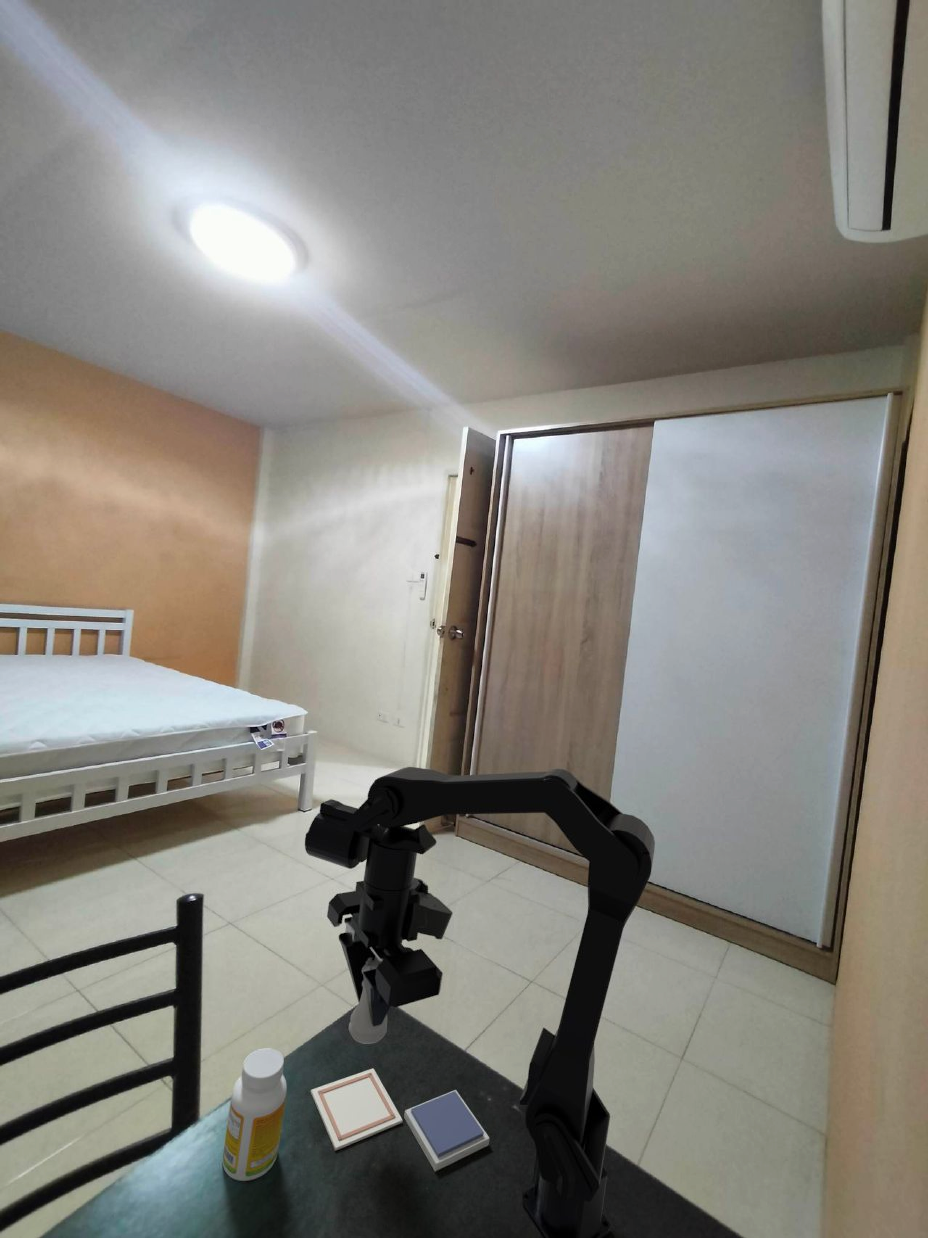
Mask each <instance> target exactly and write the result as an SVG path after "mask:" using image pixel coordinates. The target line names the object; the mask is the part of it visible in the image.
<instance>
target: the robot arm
mask: <svg viewBox="0 0 928 1238" xmlns="http://www.w3.org/2000/svg"><path fill="white" fill-rule="evenodd" d="M319 807H320V808H319V812H318V813H317V814H316V816H314V818H313V820H312V821H311V823H310V827H309V828H308V831H307V832H306V834H305V837H304V849H305V853H306V854H308V856H311V857H314V858H317V859H320V860H323V861H325V862H328V863H332V864H334V865H337V866H340V867H343V868H346V869H349V870H350V869H351V870H352V869H354V868H356V867H357V866H358V865H359V864H360V863H363V862H365V868H364V875H363V880H360V881H356V883H355V889H354V890H353V891H347V892H346V891H345V892H340V893H336V894H335V895H334V896H333V897H332V899H330V900H329V901H328V907H327V913H326V914H327V916H326V917H327V919H328V920H329V922H330V923H331V925H332V926H333V927H334V928H336V927H337V928H338V927H340V926H341V925H342V924H343V922H344V924H345V931H344V932H342V933H341V932H340V934H338V941H339V942H340V944H341V945H340V946H341V949H342V952H343V954H344V957H345V960H346V965H347V967H348V971H349V974H350V978H351V981H352V984H353V988H354V992H355V995H356V998H357V1001H358V1003H359V1002H360V998H361V995H362V991H363V986H362V981H363V980H364V983H365V989H366V995H367V1001H368V1006H369V1012H370V1017H371V1022H372V1025H373V1026H377V1025H380V1024H382V1022H383V1020H384V1018H385V1017H386V1015H387V1016H388V1012H389V1010H390V1008H391V1007H393V1008H399V1007H402V1006H404V1005H405V1006H406V1005H409V1004H412V1003H415V1002H419V1001H422V1000H426V999H429V998H433V997H435V996H436V997H437V996H439V995H440V992H441V988H442V983H443V981H442V980H443V971H442V970H441V969H440V968H439V967H438V966H437V964H435V963H434V961H433V960H432V959H431V957H429V956H428V954H427V953H426V952H425V951H424V950H423V949H422V948H419V949H415V950H414V949H413V948H411V947H408V946H407V947H406V946H404V945H403V941H405V940H406V941H407V942H413V941H417V940H418V935H419V934H420V935H426V936H431V937H434V938H435V939H437V940H442V939H443V938H444V935H445V932H446V930H447V928H448V926H449V923H450V921H451V918H452V916H453V911H452V910H451V909H450V908H448V906H447V905H446V904H444V903H443V901H441V900H440V899H439V898H437V896H434V895H433V894H432V893H431V892H429V885H428V884H427V883H426V882H424V880H423V879H420V878H417V877H415V870H416V861H417V857H418V854H419V855H424V854H426V853H427V852H428V851H430V850H431V849H432V848H434V847H435V846H436V845H437V840H436V838H435V837H434V835H433V834H432V833H431V832H429V830H428V828H427V827H426V824H424V823H423V824H421V825H419V826H417V827H416V828H412V827H408V826H410V825H414V824H419V823H422V822H425V821H429V820H431V819H434V818H438V817H443V816H450V815H453V816H455V815H490V814H491V815H492V814H493V815H498V814H500V815H501V814H502V815H503V814H504V815H505V814H543V813H544V814H546V816H548V817H549V818H550V819H551V820H552V821H553V822H554V823H555V824H556V825H557V827H558V828H559V829H560V831H561V832H562V833H563V834H564V836H565V838H567V840H568V841H569V843H570V844H571V845H572V846H573V848H574V849H575V850H576V851H577V852H578V853H579V854H580V855H581V856H582V857H583V858H584V859H585V860H587V861H588V874H587V913H586V919H585V922H584V927H583V930H582V934H581V938H580V942H579V946H578V950H577V954H576V957H575V961H574V965H573V969H572V973H571V977H570V980H569V981H570V982H569V985H568V989H567V993H566V997H565V1001H564V1005H563V1008H562V1013H561V1017H560V1020H559V1024H558V1028H557V1030H556V1031H555V1033H554V1034H553V1033H552V1032H551V1031H550V1030H548V1029H547V1028H545V1027H542V1030H541V1032H540V1035H539V1038H538V1040H537V1043H536V1046H535V1049H534V1051H533V1052H532V1053H533V1054H532V1056H531V1058H530V1062H529V1064H528V1065H529V1066H528V1074H527V1080H526V1083H525V1085H524V1088H523V1091H522V1093H521V1096H520V1099H519V1101H518V1102H519V1105H520V1106H525V1108H524V1111H523V1112H524V1114H523V1123H524V1127H525V1129H526V1130H527V1131H528V1133H529V1136H530V1137H531V1138H532V1140H533V1141H534V1145H535V1150H536V1152H535V1157H534V1166H533V1171H532V1177H531V1178H532V1180H531V1183H532V1184H533V1186H532V1187H530V1188H528V1189H527V1190H525V1191H524V1192H522V1193H521V1198H520V1202H521V1203H522V1205H523V1206H524V1208H525V1209H526V1212H528V1213H529V1216H530V1217H531V1218H532V1219H533V1221H534V1223H535V1224H536V1226H537V1227H538V1229H539V1230H540V1231H541V1233H542V1235H543V1236H544V1237H545V1238H603V1237H605V1236H606V1235H608V1234H609V1233H610V1232H609V1231H611V1223H610V1222H609V1220H608V1219H607V1218H606V1216H605V1215H604V1214H603V1208H604V1201H605V1194H606V1186H607V1182H608V1181H607V1180H608V1172H607V1171H606V1169H605V1168H604V1167H603V1165H604V1161H605V1160H604V1159H605V1152H606V1147H607V1140H608V1133H609V1127H610V1122H611V1114H610V1112H609V1111H608V1109H607V1108H606V1106H605V1104H604V1103H603V1101H602V1099H601V1098H600V1096H599V1095H598V1093H597V1091H596V1090H595V1088H594V1074H595V1064H596V1063H595V1041H596V1037H597V1034H598V1029H599V1025H600V1021H601V1017H602V1014H603V1010H604V1009H603V1008H604V1007H605V1002H606V997H607V993H608V990H609V985H610V983H611V979H612V974H613V971H614V966H615V963H616V960H617V959H616V958H617V955H618V951H619V947H620V943H621V939H622V936H623V931H624V928H625V926H626V924H627V922H628V920H629V919H630V916H631V915H632V913H633V912H634V909H635V908H636V907H637V904H638V903H639V901H640V899H641V896H642V894H643V893H644V890H645V888H646V886H647V884H648V882H649V879H650V878H651V875H652V868H653V863H654V861H653V860H654V856H655V848H656V847H655V845H656V842H655V837H654V835H653V833H652V831H651V829H650V828H649V826H648V825H647V824H646V823H645V822H644V821H643V820H642V819H641V818H639V817H636V816H634V815H632V814H626V813H623V812H621V811H620V810H619V808H617V807H616V806H615V805H614V804H613V803H611V802H610V801H609V800H608V799H606V798H604V797H603V796H601V795H600V794H598V793H597V792H595V791H594V790H592V789H590V788H589V787H588V786H585V785H584V784H583V783H582V782H581V781H580V780H579V779H577V778H576V777H575V776H574V775H573V774H572V773H571V772H570V771H568V770H567V769H563V768H555V769H552V770H551V769H550V770H548V771H532V772H531V771H529V772H510V773H509V772H508V773H507V772H506V773H486V774H485V773H484V774H467V775H466V774H464V775H463V774H462V775H454V774H446V773H444V772H440V771H437V770H434V769H429V768H422V767H415V766H406V767H403V768H400V769H398V770H395V771H393V772H391V773H388V774H385V775H383V776H379V777H377V778H376V779H375V780H374V781H373V783H372V784H371V785H370V787H369V789H368V792H367V799H366V800H365V801H364V802H362V804H361V805H360V806H358V808H357V807H353V806H350V805H347V804H344V803H342V802H341V801H338V800H335V799H332V798H331V799H328V800H325V801H323V802H321V803H320V806H319ZM347 915H351V916H349V917H345V918H344V916H347ZM343 918H344V921H343ZM375 956H376V957H377V958H378V960H379V961H381V963H380V964H378V967H377V968H376V969H373V970H369V971H365V972H363V974H362V968H363V966H364V965H365V964H366V961H368V958H370V957H372V960H374V959H375Z"/></svg>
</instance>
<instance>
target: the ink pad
mask: <svg viewBox="0 0 928 1238" xmlns="http://www.w3.org/2000/svg"><path fill="white" fill-rule="evenodd" d="M403 1118H404V1120H405V1122H406V1124H407V1125H408V1127H409V1130H410V1131H411V1132H412V1134H413V1136H414V1138H415V1140H416V1141H417V1143H418V1144H419V1146H420V1148H421V1150H422V1151H423V1154H424V1156H425V1157H426V1158H427V1160H428V1162H429V1164H430V1165H431V1167H432V1169H433V1171H434V1172H437V1171H439V1170H441V1169H443V1168H445V1167H447V1166H450V1165H452V1164H453V1163H456V1162H457V1161H459V1160H462V1159H463V1158H465V1157H468V1156H470V1155H472V1154H473V1153H476V1152H478V1151H480V1150H481V1149H484V1148H486V1147H488V1146H489V1144H490V1136H489V1135H488V1134H487V1132H486V1131H485V1130H484V1128H483V1127H482V1125H481V1124H480V1122H479V1121H478V1119H477V1118H476V1116H475V1115H474V1113H473V1112H472V1111H471V1110H470V1108H469V1107H468V1105H467V1104H466V1102H465V1101H464V1099H463V1098H462V1097H461V1095H460V1094H459V1092H458V1091H457V1089H454V1090H452V1091H449V1092H447V1093H445V1094H442V1095H439V1096H437V1097H434V1098H432V1099H430V1100H427V1101H425V1102H423V1103H420V1104H418V1105H415V1106H413V1107H410V1108H408V1109H405V1110H404V1115H403Z"/></svg>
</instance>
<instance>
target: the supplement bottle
mask: <svg viewBox="0 0 928 1238" xmlns="http://www.w3.org/2000/svg"><path fill="white" fill-rule="evenodd" d="M284 1063H285V1060H284V1056H283V1054H282V1053H281V1052H280V1051H279V1050H276V1049H274V1048H269V1047H265V1048H264V1047H263V1048H259V1049H256V1050H254V1051H252V1052H251V1053H249V1054H248V1055H247V1056H246V1058H245V1059H244V1061H243V1064H242V1071H241V1076H240V1077H239V1078H237V1080H236V1082H234V1083H235V1084H234V1085H233V1088H232V1091H231V1096H230V1104H229V1110H228V1116H227V1118H228V1119H227V1124H226V1131H225V1137H224V1145H223V1150H222V1151H223V1152H222V1165H223V1169H224V1171H225V1173H226V1174H227V1176H229V1177H230V1178H232V1179H233V1180H236V1181H238V1182H239V1181H240V1182H247V1181H253V1180H255V1179H259V1178H261V1177H262V1176H263V1175H265V1174H266V1173H268V1172H269V1170H271V1168H272V1167H273V1165H274V1164H275V1162H276V1159H277V1157H278V1153H279V1148H280V1147H279V1146H280V1141H281V1133H282V1127H283V1118H284V1113H285V1105H286V1098H287V1097H286V1096H287V1089H288V1086H287V1080H286V1078H285V1075H284V1074H283V1072H284Z"/></svg>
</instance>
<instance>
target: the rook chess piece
mask: <svg viewBox="0 0 928 1238" xmlns="http://www.w3.org/2000/svg"><path fill="white" fill-rule="evenodd" d="M380 963H381V961H379V960H378V958H377V957H376V956H375V959H374V960H372V957H370V958H368V961H366V964H365V965H364V966H363V968H362V974H363V972H365V971H369V970H373V969H376V968H377V967H378V964H380ZM362 986H363V991H362V995H361V998H360V1002H358V1003H357V1005H356V1006H355V1009H354V1010H353V1012H351V1015H350V1020H349V1021H350V1022H349V1024H348V1031H349V1034H350V1035H351V1037H352V1038H353V1040H354V1041H355V1042H357V1043H360V1044H363V1045H372V1044H375V1043H378V1042H379V1041H381V1039H383V1038H384V1037H385V1035H386V1034H387V1032H388V1025H387V1024H388V1014H387V1015H386V1017H385V1018H384V1020H383V1022H382V1024H380V1025H377V1026H373V1025H372V1022H371V1017H370V1012H369V1006H368V1001H367V995H366V989H365V983H364V980H363V981H362Z"/></svg>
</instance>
